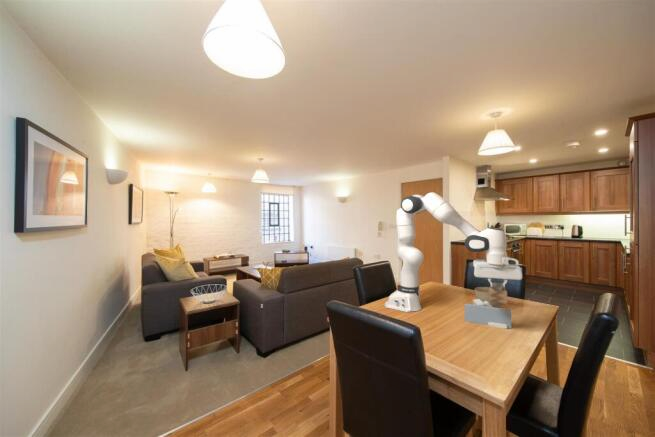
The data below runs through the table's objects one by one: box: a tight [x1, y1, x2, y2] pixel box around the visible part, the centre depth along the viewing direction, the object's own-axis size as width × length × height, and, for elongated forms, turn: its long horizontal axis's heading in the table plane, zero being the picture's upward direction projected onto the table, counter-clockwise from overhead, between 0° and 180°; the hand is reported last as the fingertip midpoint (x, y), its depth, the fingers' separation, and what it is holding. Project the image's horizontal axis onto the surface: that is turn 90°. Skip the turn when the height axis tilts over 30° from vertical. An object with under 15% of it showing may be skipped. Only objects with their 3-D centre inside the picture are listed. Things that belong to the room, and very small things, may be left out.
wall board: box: [464, 303, 512, 329], centre depth 136 cm, size 21×4×9 cm, turn 62°
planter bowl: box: [474, 286, 503, 308], centre depth 161 cm, size 16×16×11 cm
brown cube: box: [488, 280, 508, 304], centre depth 129 cm, size 7×7×9 cm
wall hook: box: [472, 298, 492, 307], centre depth 148 cm, size 8×10×10 cm
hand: (497, 287), depth 129 cm, fingers closed on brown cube, 3 cm apart
